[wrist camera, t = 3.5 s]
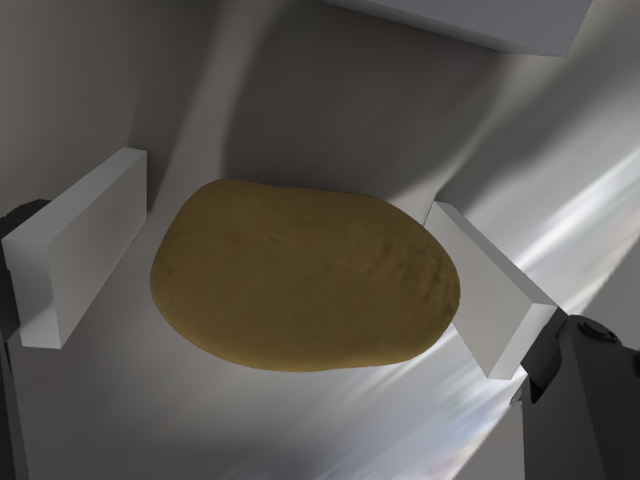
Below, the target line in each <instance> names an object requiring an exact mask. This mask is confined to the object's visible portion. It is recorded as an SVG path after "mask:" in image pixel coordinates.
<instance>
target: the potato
mask: <svg viewBox="0 0 640 480" xmlns="http://www.w3.org/2000/svg"><path fill="white" fill-rule="evenodd" d="M150 289H151V293H152V297H153V300H154V302H155V304H156V306H157V308H158V309H159V311H160V313H161V314H162V315H163V317H164V318H165V319H166V321H167V322H168V323H169V324H170V325H171V326H172V327H173V328H174V329H175V330H176V331H177V332H178V333H179V334H180V335H182V336H183V337H184V338H185V339H186V340H188V341H189V342H191V343H192V344H194V345H195V346H197V347H199V348H200V349H202V350H204V351H206V352H208V353H210V354H212V355H214V356H216V357H219V358H221V359H223V360H226V361H229V362H232V363H235V364H239V365H243V366H247V367H251V368H257V369H263V370H271V371H283V372H316V371H325V370H331V369H343V368H356V367H369V366H381V365H389V364H396V363H400V362H404V361H407V360H410V359H412V358H414V357H416V356H418V355H420V354H422V353H423V352H425V351H426V350H428V349H429V348H430V347H431V346H432V345H434V344H435V343H436V342H437V341H438V340H439V338H440V337H441V336H442V334H443V333H444V332H445V330H446V329H447V328H448V326H449V324H450V323H451V321H452V319H453V318H454V316H455V314H456V312H457V310H458V307H459V305H460V303H459V300H460V296H461V292H460V291H461V289H460V280H459V277H458V273H457V270H456V267H455V265H454V263H453V262H452V260H451V258H450V256H449V255H448V253H447V252H446V251H445V249H444V248H443V247H442V245H441V244H440V243H439V242H438V241H437V240H436V239H435V237H434V236H433V235H432V234H431V233H430V232H429V231H428V230H426V229H425V228H424V227H423V226H422V225H421V224H419V223H418V222H417V221H416V220H414V219H413V218H412V217H410V216H409V215H407V214H406V213H405V212H403V211H402V210H400V209H398V208H397V207H395V206H393V205H391V204H390V203H388V202H385V201H383V200H380V199H378V198H375V197H371V196H368V195H363V194H356V193H347V192H338V191H327V190H321V189H313V188H300V187H281V186H270V185H263V184H260V183H256V182H253V181H248V180H242V179H221V180H217V181H214V182H211V183H209V184H207V185H205V186H203V187H201V188H200V189H199V190H198V191H197V192H195V193H194V194H193V195H192V196H191V197H190V198H189V199H188V200H187V202H186V203H185V204H184V205H183V206H182V208H181V209H180V211H179V212H178V214H177V215H176V217H175V219H174V220H173V222H172V224H171V225H170V227H169V229H168V231H167V233H166V234H165V237H164V239H163V241H162V243H161V245H160V247H159V250H158V252H157V254H156V257H155V259H154V262H153V265H152V269H151V275H150Z"/></svg>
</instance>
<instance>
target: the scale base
mask: <svg viewBox="0 0 640 480" xmlns="http://www.w3.org/2000/svg"><path fill="white" fill-rule="evenodd" d="M316 1H320V2H323V3H327V4H331V5H334V6H338V7H341V8H345V9H349V10H352V11H356V12H359V13H363V14H367V15H370V16H374V17H377V18H381V19H385V20H388V21H392V22H396V23H399V24H403V25H406V26H410V27H414V28H417V29H421V30H424V31H428V32H432V33H435V34H439V35H442V36H446V37H450V38H453V39H457V40H461V41H464V42H468V43H471V44H475V45H479V46H482V47H486V48H489V49H493V50H497V51H500V52H504V53H515V54H529V55H542V56H556V57H566V55H567V53H568V51H569V49H570V46H571V44H572V42H573V40H574V38H575V36H576V34H577V32H578V30H579V28H580V25H581V23H582V21H583V19H584V17H585V15H586V13H587V11H588V9H589V6H590V4H591V2H592V0H316Z"/></svg>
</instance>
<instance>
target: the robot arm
mask: <svg viewBox="0 0 640 480" xmlns="http://www.w3.org/2000/svg"><path fill="white" fill-rule="evenodd" d="M146 221H147V151H145V150H139V149H133V148H128V147H122V148H121V149H120V150H118V151H117V152H116V153H114V154H113V155H112V156H110V157H109V158H108V159H107V160H105V161H104V162H103V163H101V164H100V165H99V166H97V167H96V168H95V169H93V170H92V171H91V172H89V173H88V174H87V175H85V176H84V177H83V178H82V179H80V180H79V181H78V182H76V183H75V184H74V185H72V186H71V187H70V188H68V189H67V190H66V191H64V192H63V193H62V194H61V195H59V196H58V197H57V198H55V199H54V200H53V201H50V200H43V199H38V200H35V201H32V202H29V203H26V204H23V205H20V206H18V207H17V208H15V209H14V210H13V211H11V212H10V213H8V214H7V215H6V217H2V218H1V219H0V480H29V476H28V470H27V463H26V457H25V450H24V443H23V437H22V430H21V424H20V417H19V411H18V404H17V397H16V391H15V384H14V378H13V371H12V365H11V358H10V352H9V348H8V343H7V340H8V339H9V338H10V337H11V335H12V334H13V333H14V332H15V331H16V330H17V328H18V327H19V330H20V335H21V340H22V344H23V346H25V347H39V348H54V349H61V348H62V347H63V345H64V344H65V342H66V341H67V339H68V338H69V336H70V335H71V333H72V332H73V330H74V329H75V327H76V326H77V324H78V323H79V321H80V320H81V318H82V317H83V315H84V314H85V312H86V311H87V309H88V308H89V306H90V305H91V303H92V302H93V300H94V299H95V297H96V296H97V294H98V293H99V291H100V290H101V288H102V287H103V285H104V284H105V282H106V281H107V279H108V278H109V276H110V275H111V273H112V272H113V270H114V269H115V267H116V266H117V265H118V263H119V262H120V260H121V259H122V257H123V256H124V254H125V253H126V251H127V250H128V248H129V247H130V245H131V244H132V242H133V241H134V239H135V238H136V236H137V235H138V233H139V232H140V230H141V229H142V227H143V226H144V224H145V223H146ZM424 228H425V229H426V230H428V231H429V232H430V233H431V234H432V235H433V236H434V237H435V239H436V240H437V241H438V242H439V243H440V244H441V245H442V247H443V248H444V249H445V251H446V252H447V253H448V255H449V256H450V258H451V260H452V262H453V263H454V265H455V267H456V270H457V273H458V277H459V280H460V289H461V291H460V292H461V296H460V300H459V303H460V305H459V307H458V310H457V312H456V314H455V316H454V318H453V319H452V323H453V324H454V326H455V328H456V329H457V331H458V332H459V334H460V336H461V337H462V339H463V340H464V342H465V344H466V345H467V347H468V348H469V350H470V352H471V353H472V355H473V356H474V358H475V360H476V361H477V363H478V364H479V366H480V368H481V369H482V371H483V372H484V374H485V376H486V377H487V378H488V379H502V380H511V378H512V377H513V375H514V374H515V372H516V371H517V369H518V367H519V366H520V364H521V366H522V367H523V368H524V370H525V371H526V372H527V373H528V375H527V377H526V378H525V380H524V381H523V383H522V384H521V386H520V387H519V389H518V390H517V392H516V393H515V395H514V396H513V397H512V399H511V401H510V404H509V405H511V406H514V405H515V403H516V402H517V401H520V400H521V401H522V405H521V407H520V408H519V410H521V411H522V412H523V439H524V465H525V480H640V349H639V350H638V351H636V350H633V349H630V348H627V347H624V346H623V345H622V343H621V342H620V340H619V339H618V337H617V336H616V335H615V334H614V333H613V332H611V331H610V330H609V329H607V328H606V327H604V326H603V325H602V324H600V323H598V322H596V321H593V320H591V319H589V318H586V317H583V316H580V315H569V316H568V315H567V314H566V313H565V312H564V311H563V310H562V309H561V308H560V307H559V306H558V305H557V304H556V303H555V302H554V301H553V300H552V299H551V298H549V297H548V296H547V295H546V294H545V293H544V292H543V291H542V290H541V289H540V288H539V287H538V286H537V285H536V284H534V282H533V281H532V280H531V279H529V278H528V277H527V276H526V275H525V274H524V273H523V272H522V271H521V270H520V269H519V268H518V267H517V266H516V265H514V264H513V263H512V262H511V261H510V260H509V259H508V258H507V257H506V256H505V255H504V254H503V253H502V252H501V251H500V250H499V249H498V248H497V247H496V246H495V245H493V244H492V243H491V242H490V241H489V240H488V239H487V238H486V237H485V236H484V235H483V234H482V233H481V232H480V231H479V230H478V229H477V228H476V227H475V226H473V225H472V224H471V223H470V222H469V221H468V220H467V219H466V218H465V217H464V216H463V215H462V214H461V213H460V212H459V211H458V210H457V209H456V208H455V207H453V206H452V205H451V204H449V203H443V202H438V201H434V202H433V204H432V207H431V209H430V212H429V214H428V217H427V220H426V222H425V225H424Z"/></svg>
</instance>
